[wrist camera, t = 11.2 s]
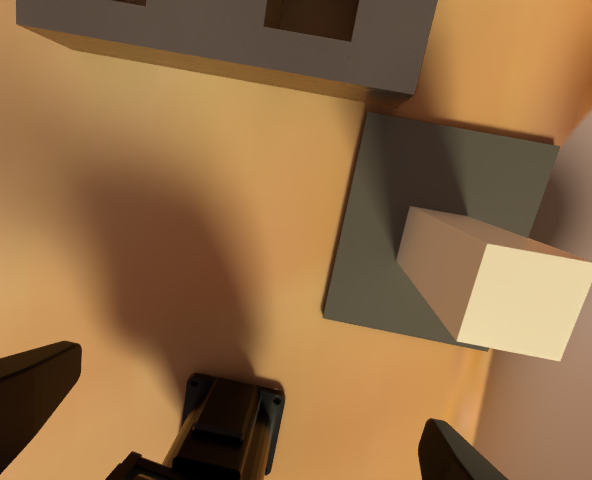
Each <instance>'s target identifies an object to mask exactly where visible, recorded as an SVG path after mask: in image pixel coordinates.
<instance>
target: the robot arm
mask: <svg viewBox="0 0 592 480" xmlns="http://www.w3.org/2000/svg"><path fill="white" fill-rule="evenodd" d="M81 357H82V348H81V345H80V344H78V343H74V342H69V341H61V342H57V343H54V344H50V345H47V346H43V347H39V348H36V349H32V350H29V351H25V352H21V353H18V354H14V355H11V356H7V357H4V358H0V474H1V473H2V472H3V471H4V470H5V469H6V468H7V466H8V465H9V464H10V463H11V462H12V461H13V460H14V459H15V458H16V457H17V455H18V454H19V453H20V452H21V451H22V450H23V449H24V448H25V447H26V446H27V444H28V443H29V442H30V441H31V440H32V439H33V438H34V436H35V435H36V434H37V433H38V431H39V430H40V429H41V428H42V426H43V425H44V424H45V423H46V421H47V420H48V419H49V417H50V416H51V415H52V413H53V412H54V411H55V410H56V408H57V407H58V406H59V404H60V403H61V402H62V400H63V399H64V398H65V397H66V395H67V394H68V393H69V391H70V390H71V389H72V387H73V386H74V385H75V383H76V382H77V381H78V379H79V377H80V373H81ZM193 380H195V381H197V382H198V383H195V382H194V381H193ZM275 398H279V399H280V400H279V401H277V400H275ZM284 404H285V395H284V393H283V392H281V391H278V390H273V389H269V388H264V387H259V386H255V385H251V384H246V383H241V382H237V381H232V380H227V379H222V378H217V377H212V376H208V375H203V374H198V373H194V374H192V375H191V376H190V377H189V379H188V381H187V387H186V396H185V404H184V412H183V420H182V428H181V430H180V431H179V433H178V435H177V437H176V439H175V441H174V443H173V444H172V446H171V448H170V450H169V452H168V454H167V456H166V457H165V459H164V461H163V463H162V464H159V463H156V462H154V461H151V460H148V459H146V458H143V457H142V455H141V454H139V453H136V452H133V451H132V452H131V453H130V454H129V455H128V456H127V458H126V459H125V460H124V461H123V462H122V463H119V464H118V465H117V467H116V468H115V469H114V470H113V471H112V472H111V473H110V475H109V476H108V477H107V478H106V479H105V480H264V475H268V474H269V473H270V472H271V468H272V463H273V458H274V453H275V448H276V443H277V438H278V434H279V429H280V424H281V419H282V414H283V409H284ZM418 457H419V463H420V469H421V476H422V480H508V479H507V478H506V477H505V476H504V475H503V474H502V473H501V472H499V471H498V470H497V469H496V468H495V467H494V466H493V465H492V464H491V463H490V462H489V461H488V460H487V459H485V458H484V457H483V456H482V455H481V454H480V453H479V452H478V451H477V450H476V449H475V448H474V447H473V446H472V445H470V444H469V443H468V442H467V441H466V440H465V439H464V438H463V437H462V436H461V435H460V434H459V433H458V432H457V431H455V430H454V429H453V428H452V427H451V426H450V425H449V424H448V423H447V422H445V421H442V420H437V419H432V418H430V419H428V420H427V421H426V424H425V427H424V430H423V433H422V436H421V439H420V442H419V446H418Z"/></svg>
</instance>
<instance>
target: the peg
mask: <svg viewBox="0 0 592 480" xmlns="http://www.w3.org/2000/svg"><path fill="white" fill-rule="evenodd" d="M396 261H397V263H398V264H399V265H400V267H401V268H402V269H403V271H404V272H405V273H406V275H407V276H408V277H409V279H410V280H411V281H412V283H413V284H414V285H415V287H416V288H417V289H418V291H419V292H420V293H421V295H422V296H423V297H424V299H425V300H426V301H427V303H428V304H429V305H430V307H431V308H432V309H433V311H434V312H435V313H436V315H437V316H438V317H439V319H440V320H441V321H442V323H443V324H444V325H445V327H446V328H447V329H448V331H449V332H450V333H451V335H452V336H453V337H454V339H455V340H456V341H457V342H463V343H468V344H473V345H478V346H483V347H488V348H494V349H499V350H504V351H509V352H514V353H519V354H525V355H530V356H535V357H541V358H545V359H550V360H556V361H560V360H561V358H562V355H563V353H564V350H565V348H566V345H567V343H568V340H569V338H570V335H571V333H572V330H573V328H574V325H575V323H576V320H577V318H578V315H579V313H580V310H581V308H582V305H583V303H584V300H585V298H586V295H587V292H588V290H589V288H590V285H591V283H592V261H590V260H587V259H584V258H581V257H579V256H576V255H573V254H570V253H568V252H565V251H562V250H559V249H557V248H554V247H551V246H548V245H545V244H543V243H540V242H537V241H535V240H532V239H529V238H526V237H524V236H521V235H518V234H515V233H513V232H510V231H507V230H504V229H502V228H499V227H496V226H493V225H490V224H488V223H485V222H482V221H479V220H477V219H474V218H471V217H468V216H463V215H458V214H452V213H446V212H441V211H435V210H430V209H424V208H418V207H413V206H410V207H409V211H408V215H407V219H406V223H405V227H404V231H403V235H402V239H401V243H400V247H399V251H398V255H397V259H396Z"/></svg>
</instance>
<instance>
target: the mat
mask: <svg viewBox="0 0 592 480" xmlns="http://www.w3.org/2000/svg"><path fill="white" fill-rule="evenodd" d="M559 149H560V146H556V145H550V144H545V143H539V142H534V141H528V140H523V139H517V138H512V137H506V136H500V135H495V134H489V133H484V132H478V131H473V130H467V129H462V128H456V127H450V126H445V125H439V124H434V123H428V122H423V121H417V120H412V119H406V118H401V117H395V116H389V115H384V114H378V113H373V112H367V115H366V119H365V124H364V129H363V133H362V138H361V142H360V147H359V152H358V156H357V161H356V165H355V170H354V175H353V179H352V184H351V188H350V193H349V197H348V202H347V207H346V211H345V216H344V220H343V225H342V230H341V234H340V239H339V243H338V248H337V253H336V257H335V262H334V266H333V271H332V275H331V280H330V285H329V289H328V294H327V298H326V303H325V308H324V312H323V318H325V319H330V320H335V321H339V322H344V323H349V324H354V325H359V326H364V327H369V328H374V329H379V330H384V331H388V332H393V333H398V334H403V335H408V336H413V337H418V338H423V339H428V340H433V341H438V342H442V343H447V344H452V345H457V346H462V347H467V348H472V349H477V350H482V351H487V352H488V350H489V348H488V347H483V346H478V345H473V344H468V343H463V342H457V341H456V340H455V339H454V337H453V336H452V335H451V333H450V332H449V331H448V329H447V328H446V327H445V325H444V324H443V323H442V321H441V320H440V319H439V317H438V316H437V315H436V313H435V312H434V311H433V309H432V308H431V307H430V305H429V304H428V303H427V301H426V300H425V299H424V297H423V296H422V295H421V293H420V292H419V291H418V289H417V288H416V287H415V285H414V284H413V283H412V281H411V280H410V279H409V277H408V276H407V275H406V273H405V272H404V271H403V269H402V268H401V267H400V265H399V264H398V263H397V261H396V259H397V255H398V251H399V247H400V243H401V239H402V235H403V231H404V227H405V223H406V219H407V215H408V211H409V207H410V206H413V207H418V208H424V209H430V210H435V211H441V212H446V213H452V214H458V215H463V216H468V217H471V218H474V219H477V220H479V221H482V222H485V223H488V224H490V225H493V226H496V227H499V228H502V229H504V230H507V231H510V232H513V233H515V234H518V235H521V236H524V237H526V238H528V236H529V234H530V231H531V228H532V225H533V222H534V219H535V217H536V214H537V211H538V208H539V205H540V202H541V200H542V197H543V194H544V191H545V188H546V185H547V183H548V180H549V177H550V174H551V171H552V168H553V166H554V163H555V160H556V157H557V154H558V152H559Z"/></svg>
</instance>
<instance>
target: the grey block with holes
mask: <svg viewBox="0 0 592 480" xmlns="http://www.w3.org/2000/svg"><path fill="white" fill-rule="evenodd" d="M437 1H438V0H359V2H358V7H357V12H356V17H355V22H354V27H353V32H352V37H351V42H349V41H344V40H338V39H332V38H326V37H321V36H315V35H309V34H303V33H297V32H292V31H286V30H280V29H279V22H280V16H281V9H282V2H283V0H146V6H141V5H135V4H130V3H124V2H118V1H112V0H16V24H17V25H19V26H22V27H24V28H26V29H28V30H30V31H33V32H35V33H37V34H39V35H41V36H44V37H46V38H48V39H50V40H52V41H55V42H57V43H59V44H61V45H63V46H66V47H68V48H70V49H72V50H77V51H82V52H88V53H93V54H99V55H104V56H110V57H116V58H121V59H127V60H132V61H138V62H143V63H149V64H155V65H160V66H166V67H171V68H177V69H183V70H188V71H194V72H199V73H205V74H210V75H216V76H222V77H227V78H233V79H238V80H244V81H249V82H255V83H261V84H266V85H272V86H277V87H283V88H289V89H294V90H300V91H305V92H311V93H316V94H322V95H328V96H333V97H339V98H344V99H350V100H355V101H361V102H367V103H372V104H378V105H383V106H389V107H394V108H398V107H399V106H400V105H402V104H403V103H404V102H406V101H407V100H408V99H409V98H411V97H412V96H413V95H414V94H415V90H416V86H417V82H418V78H419V74H420V70H421V66H422V62H423V58H424V54H425V50H426V45H427V41H428V37H429V33H430V29H431V25H432V21H433V17H434V13H435V9H436V5H437Z"/></svg>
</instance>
